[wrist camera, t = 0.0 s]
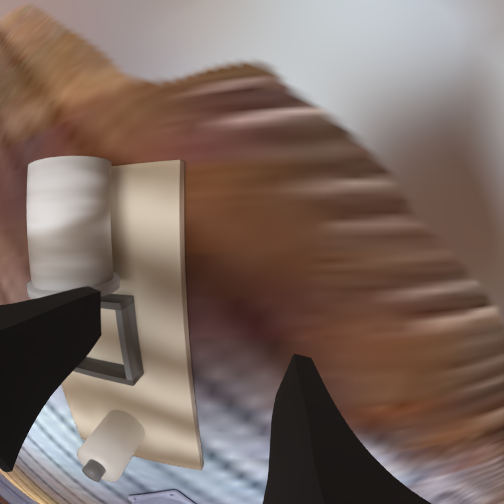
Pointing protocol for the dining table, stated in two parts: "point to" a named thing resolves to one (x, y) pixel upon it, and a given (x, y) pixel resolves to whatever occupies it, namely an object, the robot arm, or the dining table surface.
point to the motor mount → (121, 292)
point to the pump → (110, 446)
